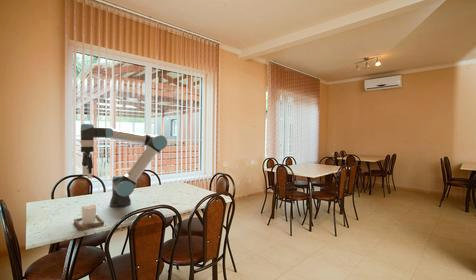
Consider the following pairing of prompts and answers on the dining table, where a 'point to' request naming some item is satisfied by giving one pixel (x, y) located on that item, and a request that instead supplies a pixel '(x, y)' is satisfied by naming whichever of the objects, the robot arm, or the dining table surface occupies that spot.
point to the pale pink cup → (88, 214)
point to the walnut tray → (82, 226)
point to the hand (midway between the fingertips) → (87, 176)
